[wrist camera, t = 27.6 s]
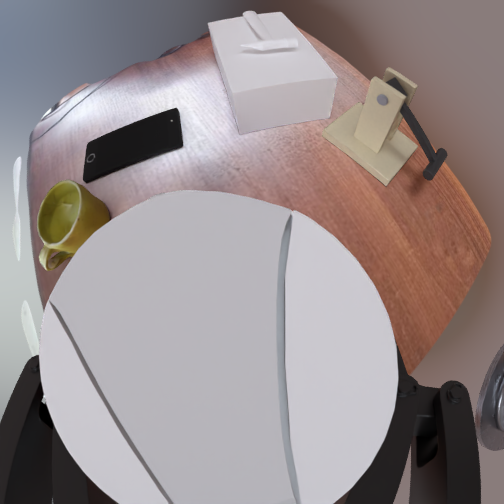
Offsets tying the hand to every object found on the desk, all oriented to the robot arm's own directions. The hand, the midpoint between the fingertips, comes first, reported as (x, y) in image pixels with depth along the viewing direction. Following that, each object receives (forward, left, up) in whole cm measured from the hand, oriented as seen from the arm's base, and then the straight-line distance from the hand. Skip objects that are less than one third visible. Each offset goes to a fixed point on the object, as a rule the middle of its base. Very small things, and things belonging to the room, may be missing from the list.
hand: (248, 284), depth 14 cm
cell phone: (+33, -3, -18) cm, 38 cm away
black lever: (+1, -29, -11) cm, 31 cm away
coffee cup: (-2, +2, -6) cm, 7 cm away
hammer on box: (+27, -28, -19) cm, 43 cm away
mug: (+25, +12, -19) cm, 34 cm away
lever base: (+5, -29, -18) cm, 35 cm away
